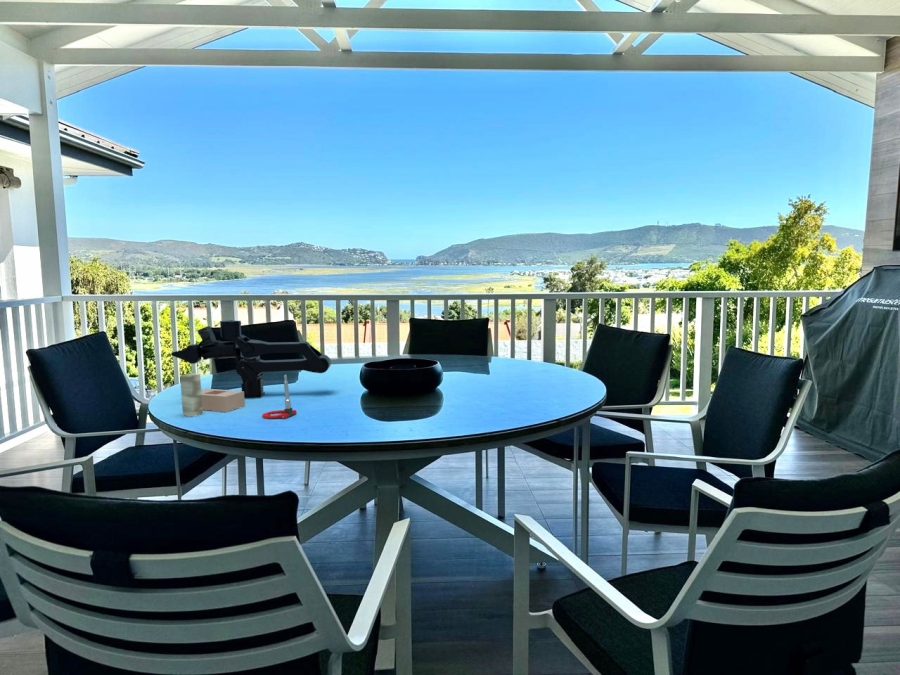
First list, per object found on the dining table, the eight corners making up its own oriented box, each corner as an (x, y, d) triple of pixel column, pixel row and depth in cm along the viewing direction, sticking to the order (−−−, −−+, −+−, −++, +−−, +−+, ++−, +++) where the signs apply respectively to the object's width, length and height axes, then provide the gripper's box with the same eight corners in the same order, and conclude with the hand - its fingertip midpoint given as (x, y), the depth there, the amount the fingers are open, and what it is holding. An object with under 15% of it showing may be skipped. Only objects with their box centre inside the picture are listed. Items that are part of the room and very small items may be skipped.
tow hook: (256, 420, 175) (283, 420, 172) (252, 377, 173) (279, 377, 171) (272, 413, 183) (298, 413, 180) (268, 372, 181) (295, 372, 179)
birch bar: (193, 412, 183) (190, 373, 182) (202, 413, 182) (200, 374, 180) (183, 415, 180) (180, 375, 178) (192, 416, 178) (190, 376, 177)
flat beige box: (207, 403, 197) (206, 388, 196) (244, 406, 191) (243, 391, 190) (187, 408, 189) (186, 393, 188) (226, 412, 183) (225, 396, 183)
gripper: (228, 324, 212) (184, 326, 211) (211, 329, 194) (163, 331, 193) (231, 354, 213) (187, 356, 212) (214, 362, 195) (166, 365, 194)
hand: (176, 352), depth 203 cm, fingers open, 9 cm apart
